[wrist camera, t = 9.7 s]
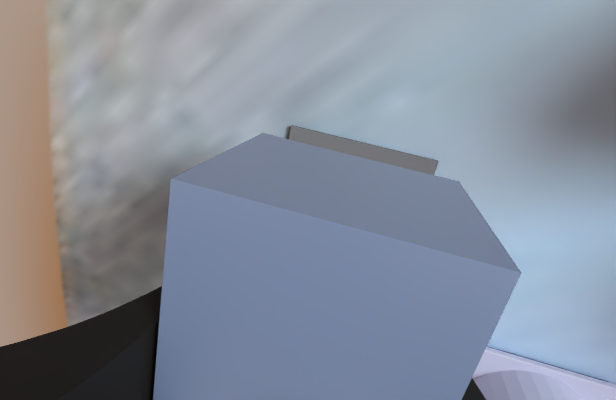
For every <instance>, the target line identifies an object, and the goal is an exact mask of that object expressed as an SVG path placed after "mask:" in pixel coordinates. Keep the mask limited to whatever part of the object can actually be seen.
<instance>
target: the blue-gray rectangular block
mask: <svg viewBox="0 0 616 400" xmlns="http://www.w3.org/2000/svg"><path fill="white" fill-rule="evenodd" d="M520 274H521V272H520V270H519V269H518V267H517V266H516V264H515V263H514V261H513V260H512V258H511V257H510V256H509V254H508V253H507V251H506V250H505V248H504V247H503V245H502V244H501V242H500V241H499V239H498V238H497V237H496V235H495V234H494V232H493V231H492V229H491V228H490V226H489V225H488V223H487V222H486V220H485V219H484V218H483V216H482V215H481V213H480V212H479V210H478V209H477V207H476V206H475V204H474V203H473V201H472V200H471V199H470V197H469V196H468V194H467V193H466V191H465V190H464V188H463V187H462V185H461V184H460V182H459V181H455V180H451V179H446V178H442V177H438V176H434V175H430V174H426V173H422V172H418V171H414V170H410V169H406V168H402V167H398V166H394V165H390V164H386V163H382V162H378V161H374V160H370V159H366V158H362V157H358V156H353V155H349V154H345V153H341V152H337V151H333V150H329V149H325V148H321V147H317V146H313V145H309V144H305V143H301V142H297V141H293V140H289V139H285V138H281V137H277V136H273V135H269V134H264V133H262V134H260V135H258V136H256V137H254V138H252V139H250V140H248V141H246V142H244V143H242V144H240V145H238V146H236V147H234V148H232V149H230V150H228V151H226V152H224V153H222V154H220V155H218V156H215V157H213V158H211V159H209V160H207V161H205V162H203V163H201V164H199V165H197V166H195V167H193V168H191V169H189V170H187V171H185V172H183V173H181V174H179V175H177V176H175V177H173V178H171V182H170V194H169V207H168V219H167V232H166V244H165V256H164V269H163V281H162V294H161V306H160V319H159V331H158V343H157V356H156V368H155V381H154V393H153V400H462V398H463V396H464V393H465V391H466V389H467V387H468V385H469V383H470V381H471V379H472V376H473V374H474V372H475V370H476V368H477V366H478V364H479V362H480V359H481V357H482V355H483V353H484V351H485V349H486V347H487V345H488V342H489V340H490V338H491V336H492V334H493V332H494V330H495V327H496V325H497V323H498V321H499V319H500V317H501V315H502V313H503V310H504V308H505V306H506V304H507V302H508V300H509V298H510V296H511V293H512V291H513V289H514V287H515V285H516V283H517V281H518V279H519V276H520Z"/></svg>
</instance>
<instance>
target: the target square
mask: <svg viewBox="0 0 616 400" xmlns="http://www.w3.org/2000/svg"><path fill="white" fill-rule="evenodd" d="M289 140H293V141H297V142H301V143H305V144H309V145H313V146H317V147H321V148H325V149H329V150H333V151H337V152H341V153H345V154H349V155H353V156H358V157H362V158H366V159H370V160H374V161H378V162H382V163H386V164H390V165H394V166H398V167H402V168H406V169H410V170H414V171H418V172H422V173H426V174H430V175H434V173H435V170H436V167H437V164H438V161H437V160H433V159H429V158H425V157H420V156H416V155H412V154H408V153H404V152H400V151H396V150H392V149H387V148H383V147H379V146H375V145H371V144H367V143H363V142H359V141H354V140H350V139H346V138H342V137H338V136H334V135H330V134H326V133H321V132H317V131H313V130H309V129H305V128H301V127H297V126H293V125H292V126H291V130H290V135H289Z"/></svg>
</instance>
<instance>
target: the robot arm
mask: <svg viewBox="0 0 616 400" xmlns="http://www.w3.org/2000/svg"><path fill="white" fill-rule="evenodd" d="M161 294H162V286H161V287H159V288H157V289H156V290H154V291H152V292H150V293H148V294H146V295H144V296H141V297H139V298H137V299H135V300H133V301H131V302H128V303H126V304H124V305H122V306H120V307H118V308H115V309H113V310H111V311H108V312H106V313H104V314H101V315H99V316H96V317H94V318H91V319H88V320H86V321H83V322H80V323H77V324H75V325H72V326H69V327H66V328H63V329H60V330H57V331H54V332H51V333H47V334H44V335H41V336H37V337H34V338H31V339H27V340H24V341H21V342H17V343H14V344H10V345H6V346H2V347H0V400H153V393H154V381H155V368H156V356H157V343H158V331H159V319H160V306H161ZM462 400H616V384H612V383H609V382H605V381H602V380H599V379H595V378H592V377H588V376H585V375H582V374H578V373H575V372H571V371H568V370H564V369H561V368H558V367H554V366H551V365H547V364H544V363H541V362H537V361H534V360H530V359H527V358H523V357H520V356H517V355H513V354H510V353H506V352H503V351H500V350H496V349H493V348H489V347H486V349H485V351H484V353H483V355H482V357H481V359H480V362H479V364H478V366H477V368H476V370H475V372H474V374H473V376H472V379H471V381H470V383H469V385H468V387H467V389H466V391H465V393H464V396H463V398H462Z"/></svg>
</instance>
